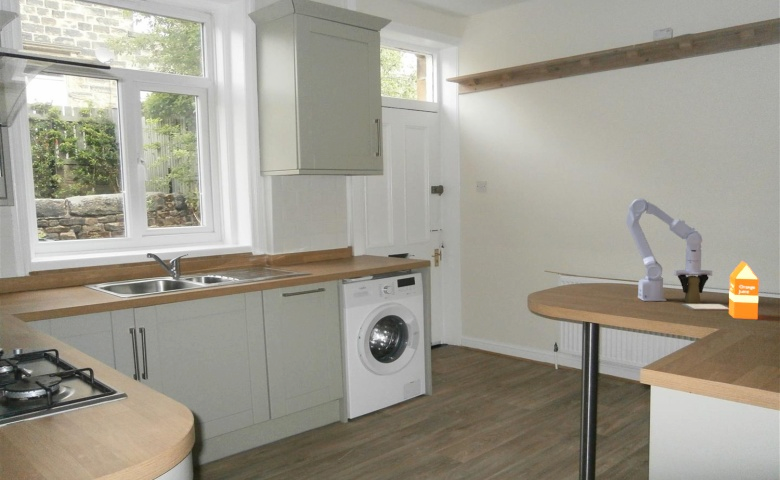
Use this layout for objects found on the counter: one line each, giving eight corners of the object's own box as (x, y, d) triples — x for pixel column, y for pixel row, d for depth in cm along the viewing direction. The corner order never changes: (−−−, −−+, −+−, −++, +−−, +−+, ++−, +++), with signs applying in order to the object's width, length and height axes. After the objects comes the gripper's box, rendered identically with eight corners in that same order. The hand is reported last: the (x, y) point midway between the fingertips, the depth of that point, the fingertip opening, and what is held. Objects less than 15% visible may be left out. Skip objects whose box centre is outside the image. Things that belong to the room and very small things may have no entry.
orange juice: (751, 314, 221) (753, 261, 219) (757, 319, 213) (759, 264, 211) (728, 313, 224) (729, 260, 222) (733, 318, 215) (735, 263, 214)
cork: (702, 303, 243) (703, 276, 242) (686, 303, 244) (687, 276, 243) (697, 300, 249) (698, 274, 248) (682, 300, 250) (683, 274, 249)
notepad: (692, 310, 230) (693, 308, 230) (682, 304, 241) (682, 303, 241) (733, 310, 228) (733, 309, 228) (720, 304, 239) (720, 303, 239)
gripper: (678, 261, 242) (678, 294, 243) (715, 261, 241) (715, 294, 242) (672, 259, 249) (671, 291, 250) (708, 259, 248) (707, 291, 249)
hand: (692, 292), depth 246 cm, fingers open, 5 cm apart
